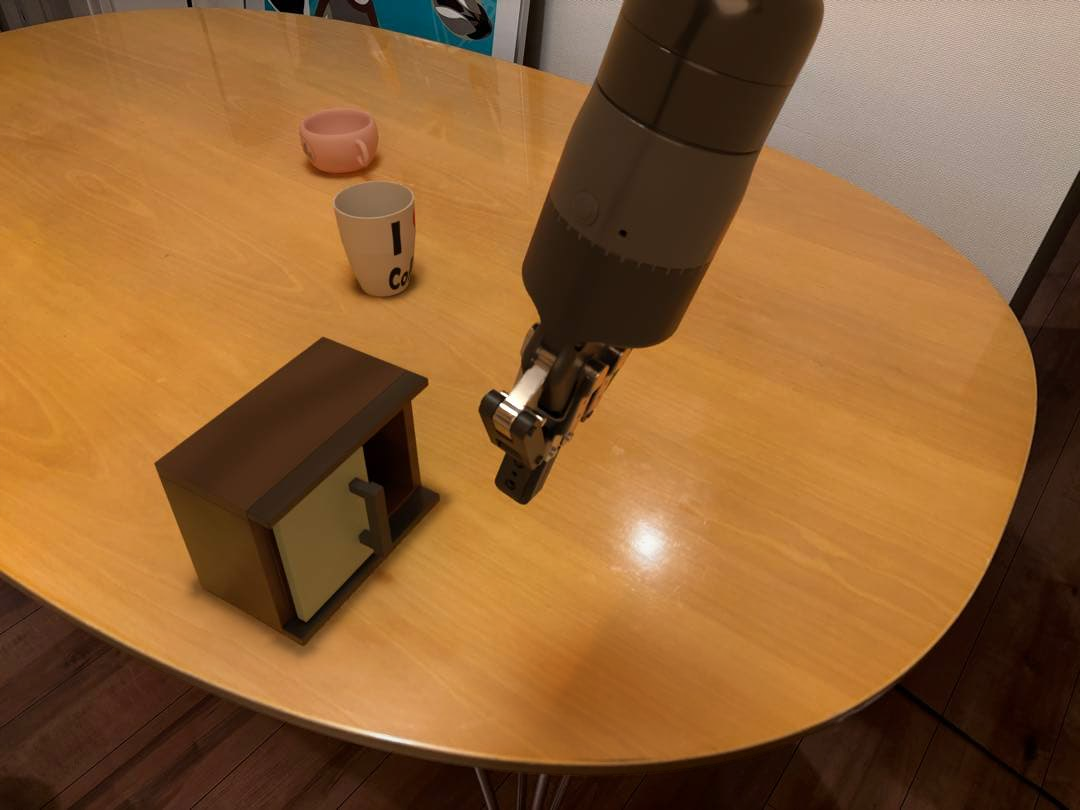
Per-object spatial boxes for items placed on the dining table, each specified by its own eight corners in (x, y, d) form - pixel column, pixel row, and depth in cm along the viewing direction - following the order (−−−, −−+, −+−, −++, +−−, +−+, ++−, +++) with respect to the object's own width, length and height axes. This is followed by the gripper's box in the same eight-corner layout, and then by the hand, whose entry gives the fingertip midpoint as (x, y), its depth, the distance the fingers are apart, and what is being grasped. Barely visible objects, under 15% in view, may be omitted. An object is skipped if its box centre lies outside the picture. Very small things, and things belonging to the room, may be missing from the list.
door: (404, 558, 65) (389, 455, 58) (332, 637, 60) (306, 534, 53) (371, 541, 66) (352, 439, 59) (297, 618, 61) (268, 514, 54)
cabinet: (440, 499, 71) (428, 377, 63) (303, 646, 60) (267, 522, 52) (345, 456, 75) (322, 336, 67) (201, 587, 64) (153, 463, 56)
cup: (402, 310, 91) (392, 223, 85) (332, 296, 93) (317, 210, 87) (434, 271, 97) (427, 187, 91) (368, 258, 99) (356, 175, 93)
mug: (291, 161, 118) (283, 118, 114) (356, 142, 123) (351, 100, 119) (336, 194, 111) (329, 149, 107) (403, 172, 116) (399, 128, 112)
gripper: (648, 310, 31) (507, 603, 42) (762, 213, 41) (626, 469, 52) (478, 207, 33) (384, 514, 43) (628, 138, 43) (522, 401, 53)
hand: (516, 489), depth 47 cm, fingers closed
